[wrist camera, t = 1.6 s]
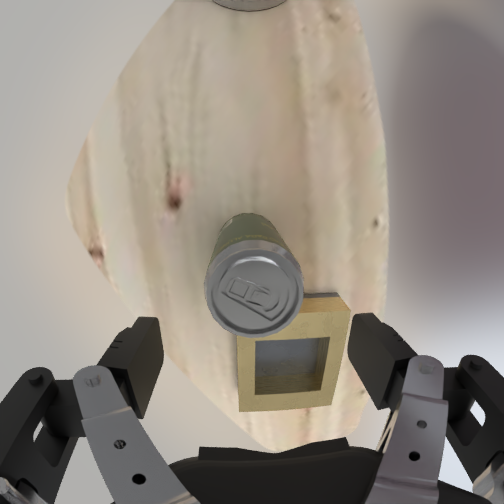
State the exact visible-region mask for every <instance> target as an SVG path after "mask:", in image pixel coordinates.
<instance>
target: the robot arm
mask: <svg viewBox="0 0 504 504" xmlns="http://www.w3.org/2000/svg"><path fill="white" fill-rule="evenodd" d="M213 1H215V2H216V3H218V4H220V5H222V6H225V7H228V8H232V9H236V10H246V11H253V10H263V9H268V8H271V7H274V6H277V5H279V4H281V3H283V2H284V1H285V0H213ZM348 357H349V360H350V362H351V363H352V365H353V367H354V369H355V370H356V372H357V374H358V376H359V377H360V379H361V381H362V383H363V384H364V386H365V388H366V390H367V391H368V393H369V395H370V397H371V399H372V400H373V402H374V404H375V406H376V408H377V409H378V410H381V409H384V408H390V410H391V411H390V413H389V416H388V418H387V421H386V424H385V427H384V429H383V432H382V435H381V437H380V440H379V442H378V445H377V448H376V450H372V449H368V448H363V447H354V446H349V444H348V441H347V439H346V437H344V438H338V439H333V440H326V441H320V442H313V443H309V444H306V445H303V446H300V447H297V448H294V449H291V450H287V451H284V452H281V453H266V452H259V451H252V450H247V449H241V448H221V447H219V448H218V447H199V456H198V457H191V458H187V459H183V460H180V461H177V462H175V463H172V464H170V465H167V463H166V462H165V460H164V459H163V458H162V456H161V455H160V453H159V452H158V450H157V449H156V447H155V446H154V444H153V443H152V441H151V440H150V438H149V437H148V435H147V433H146V432H145V430H144V428H143V427H142V425H141V423H140V422H139V420H138V419H143V418H144V415H145V412H146V409H147V406H148V404H149V401H150V398H151V395H152V392H153V389H154V386H155V384H156V381H157V378H158V375H159V373H160V370H161V367H162V364H163V358H164V350H163V344H162V338H161V332H160V326H159V321H158V318H156V317H138V319H137V320H136V322H135V323H134V325H133V326H132V328H128V327H127V328H126V329H124V330H123V331H121V332H120V333H119V334H118V335H117V336H116V337H115V339H114V341H113V342H112V343H111V345H110V347H109V348H108V349H107V351H106V352H105V353H104V355H103V356H102V358H101V359H100V361H99V362H98V364H97V365H94V366H88V367H85V368H82V369H81V370H79V371H78V372H77V373H76V374H75V375H74V377H73V380H55V379H54V377H53V374H52V372H51V371H50V370H49V369H47V368H44V367H36V368H32V369H30V370H28V371H26V372H25V373H24V374H23V375H22V376H21V377H20V378H19V380H18V381H17V382H16V383H15V385H14V386H13V387H12V389H11V390H10V391H9V393H8V394H7V395H6V397H5V398H4V399H3V401H2V402H1V403H0V504H54V502H55V499H56V496H57V493H58V490H59V487H60V484H61V482H62V479H63V476H64V474H65V471H66V468H67V465H68V463H69V460H70V458H71V455H72V453H73V450H74V448H75V445H76V443H77V440H78V438H79V437H87V440H88V443H89V445H90V448H91V450H92V453H93V455H94V458H95V461H96V463H97V465H98V468H99V470H100V472H101V475H102V476H103V479H104V481H105V483H106V485H107V487H108V489H109V491H110V493H111V495H112V497H113V499H114V502H113V503H111V504H504V377H503V376H502V375H500V374H499V372H498V371H497V370H495V368H494V367H493V366H492V365H490V363H489V362H488V361H486V360H485V359H484V358H482V357H480V356H477V355H466V356H464V357H463V358H462V359H461V361H460V364H459V366H458V367H452V368H451V367H450V368H444V367H443V364H442V363H441V362H440V361H439V360H437V359H436V358H434V357H431V356H427V355H417V353H416V352H415V351H414V350H413V349H412V348H411V347H410V346H409V345H408V344H407V343H406V342H405V341H403V338H402V337H401V336H400V335H398V333H397V332H396V331H395V330H394V329H393V328H392V327H390V326H388V325H387V324H385V323H381V321H380V320H379V319H378V318H377V317H376V316H375V315H374V314H373V313H361V314H355V315H354V317H353V320H352V325H351V331H350V336H349V342H348ZM475 400H476V402H477V403H478V404H479V405H480V407H481V408H482V409H483V411H484V412H485V422H484V425H483V426H481V425H480V424H479V422H478V421H477V419H476V418H475V417H474V415H473V414H472V413H471V411H470V409H471V407H472V405H473V404H474V402H475ZM40 421H41V422H42V424H43V427H42V428H41V430H40V432H39V434H38V436H37V438H36V440H35V442H34V440H33V434H34V431H35V429H36V428H37V426H38V424H39V422H40ZM445 436H446V437H447V439H448V441H449V443H450V444H451V446H452V447H453V449H454V451H455V453H456V454H457V456H458V458H459V460H460V461H461V463H462V465H463V467H464V468H465V470H466V472H467V474H468V476H469V478H470V480H471V481H472V483H473V493H471V492H469V491H466V490H463V489H460V488H457V487H455V486H452V485H450V484H448V483H445V482H443V481H440V480H438V477H439V472H440V467H441V461H442V455H443V450H444V442H445Z"/></svg>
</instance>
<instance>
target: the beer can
mask: <svg viewBox="0 0 504 504" xmlns="http://www.w3.org/2000/svg"><path fill="white" fill-rule="evenodd" d="M204 289H205V298H206V301H207V304H208V307H209V310H210V312H211V314H212V316H213V318H214V319H215V320H216V321H217V322H218V323H219V324H220V325H221V326H222V327H223V328H224V329H226V330H227V331H229V332H231V333H233V334H235V335H238V336H243V337H247V338H260V337H266V336H269V335H272V334H275V333H278V332H279V331H281V330H282V329H284V328H285V327H287V326H288V325H289V324H290V323H291V322H292V321H293V320H294V318H295V317H296V316H297V315H298V313H299V310H300V308H301V305H302V302H303V291H304V278H303V275H302V272H301V269H300V265H299V264H298V262H297V261H296V259H295V258H294V256H293V255H292V253H291V252H290V250H289V249H288V247H287V246H286V244H285V243H284V241H283V239H282V238H281V236H280V235H279V233H278V232H277V231H276V229H275V228H274V226H273V225H272V224H271V223H270V221H268V220H267V219H265V218H264V217H262V216H260V215H256V214H253V213H250V214H241V215H238V216H235V217H233V218H232V219H230V220H229V221H228V222H227V223H225V225H224V226H223V228H222V229H221V231H220V234H219V237H218V240H217V242H216V245H215V248H214V251H213V254H212V257H211V260H210V263H209V266H208V269H207V273H206V277H205V281H204Z"/></svg>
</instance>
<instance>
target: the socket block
mask: <svg viewBox="0 0 504 504" xmlns="http://www.w3.org/2000/svg"><path fill="white" fill-rule="evenodd" d="M350 312H351V310H350V309H349V307H348V306H347V305H346V304H345V302H344V301H343V300H342V299H341V297H340V296H339V295H338V293H319V294H303V302H302V305H301V308H300V310H299V313H298V315H297V316H296V317H295V318H294V320H293V321H292V322H291V323H290V324H289V325H288V326H287V327H285V328H284V329H282V330H281V331H279V332H278V333H275V334H272V335H269V336H266V337H260V338H247V337H243V336H238V335H237V363H238V394H239V412H252V411H275V410H289V409H301V408H310V407H319V406H327V405H331V403H332V399H333V395H334V391H335V387H336V383H337V379H338V374H339V370H340V365H341V360H342V356H343V351H344V346H345V340H346V335H347V330H348V324H349V318H350Z"/></svg>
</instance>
